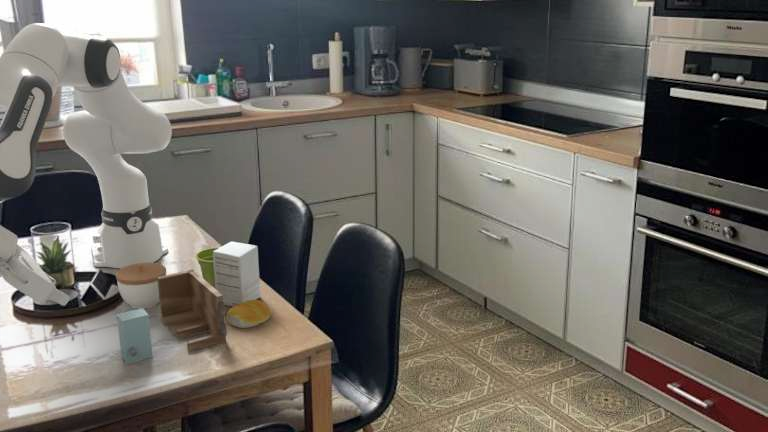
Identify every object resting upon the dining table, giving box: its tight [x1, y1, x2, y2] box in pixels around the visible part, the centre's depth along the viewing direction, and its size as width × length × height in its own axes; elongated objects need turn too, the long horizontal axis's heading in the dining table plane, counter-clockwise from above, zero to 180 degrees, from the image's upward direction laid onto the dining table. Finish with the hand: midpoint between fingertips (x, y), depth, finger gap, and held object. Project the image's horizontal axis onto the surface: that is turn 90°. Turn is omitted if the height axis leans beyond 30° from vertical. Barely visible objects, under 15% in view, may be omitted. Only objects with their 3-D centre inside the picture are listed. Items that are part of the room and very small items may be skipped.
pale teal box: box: [116, 308, 154, 365], centre depth 148 cm, size 5×5×9 cm
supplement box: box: [213, 241, 261, 308], centre depth 173 cm, size 7×7×13 cm
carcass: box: [157, 269, 228, 352], centre depth 159 cm, size 18×8×10 cm, turn 34°
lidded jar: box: [115, 262, 167, 310], centre depth 172 cm, size 11×11×9 cm
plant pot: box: [195, 246, 220, 288], centre depth 180 cm, size 9×9×9 cm
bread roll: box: [226, 299, 271, 329], centre depth 165 cm, size 8×9×4 cm
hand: (59, 292), depth 138 cm, fingers open, 8 cm apart
